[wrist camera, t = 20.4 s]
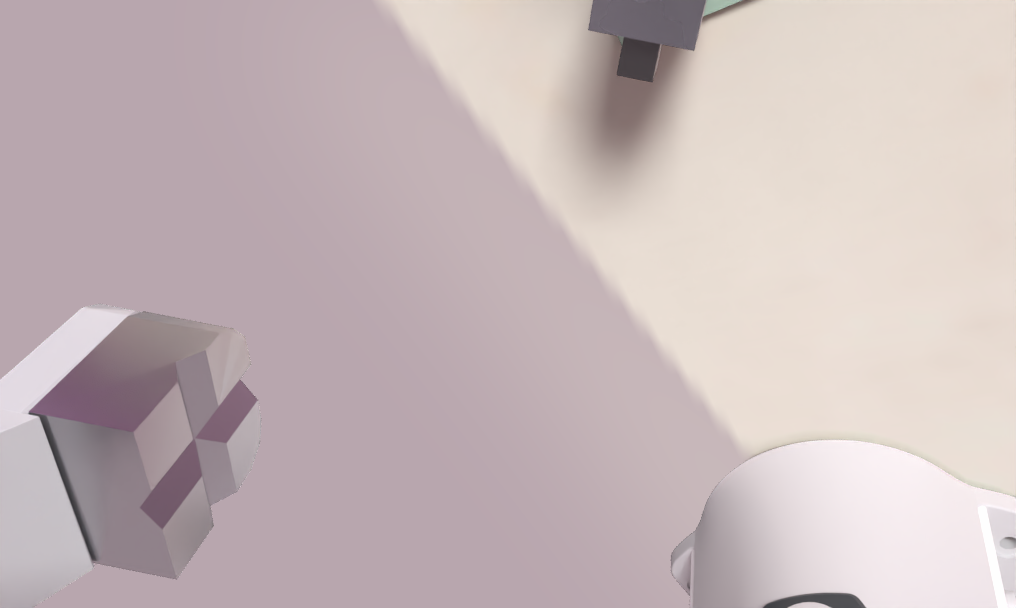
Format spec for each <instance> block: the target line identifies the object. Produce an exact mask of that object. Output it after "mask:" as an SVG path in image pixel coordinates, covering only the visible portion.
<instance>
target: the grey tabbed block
mask: <svg viewBox="0 0 1016 608" xmlns="http://www.w3.org/2000/svg"><path fill="white" fill-rule="evenodd" d="M706 3H707V0H593V5H592V11H591V17H590V23H589V29H588V30H590V31H595V32H600V33H605V34H610V35H616V36H621V37H624V39H623V44H622V49H621V55H620V60H619V66H618V71H617V75H618V76H623V77H628V78H633V79H638V80H643V81H648V82H653V79H654V76H655V73H656V70H657V66H658V61H659V56H660V52H661V47H662V45H667V46H672V47H678V48H683V49H688V50H693V51H694V49H695V45H696V42H697V38H698V34H699V30H700V26H701V22H702V19H703V15H704V11H705V7H706Z"/></svg>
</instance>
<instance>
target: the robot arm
mask: <svg viewBox="0 0 1016 608" xmlns="http://www.w3.org/2000/svg"><path fill="white" fill-rule="evenodd" d="M250 365H251V361H250V357H249V352H248V348H247V344H246V340H245V337H244V336H243V335H242V334H240V333H239V332H237V331H236V330H234V329H232V328H227V327H222V326H216V325H212V324H206V323H201V322H196V321H191V320H186V319H180V318H175V317H170V316H165V315H159V314H154V313H149V312H138V311H134V310H129V309H124V308H119V307H114V306H108V305H103V304H96V305H92V306H87V307H83V308H81V309H80V310H79V311H78V312H77V313H76V314H75V315H73V316H72V317H71V318H70V319H69V320H68V321H67V322H65V324H63V325H62V326H61V327H60V328H59V329H58V330H56V331H55V332H54V333H53V334H52V335H51V336H50V337H48V338H47V339H46V340H45V341H44V342H43V343H42V344H40V345H39V346H38V347H37V348H36V349H35V350H34V351H33V352H31V353H30V354H29V355H28V356H27V357H26V358H25V359H23V360H22V361H21V362H20V363H19V364H18V365H17V366H16V367H14V368H13V369H12V370H11V371H10V372H9V373H8V374H6V375H5V376H4V377H3V378H2V379H1V380H0V608H33V607H35V606H36V605H38V604H39V603H41V602H42V601H44V600H45V599H47V598H49V597H50V596H52V595H53V594H55V593H56V592H58V591H59V590H61V589H63V588H64V587H65V586H67V585H69V584H70V583H72V582H73V581H75V580H76V579H78V578H80V577H81V576H83V575H84V574H86V573H87V572H89V571H90V570H92V569H93V568H94V565H93V563H97V564H102V565H106V566H112V567H117V568H122V569H127V570H132V571H137V572H142V573H147V574H152V575H157V576H162V577H167V578H172V579H177V578H178V577H179V576H180V574H181V573H182V571H183V570H184V568H185V567H186V565H187V564H188V562H189V561H190V560H191V558H192V557H193V555H194V554H195V552H196V551H197V549H198V548H199V546H200V545H201V544H202V542H203V540H204V539H205V538H206V536H207V535H208V533H209V532H210V530H211V529H212V528H213V526H214V525H213V518H212V512H211V505H213V504H215V503H217V502H219V501H220V500H222V499H224V498H226V497H228V496H230V495H232V494H234V493H236V492H237V491H238V489H239V488H240V486H241V485H242V483H243V481H244V480H245V478H246V477H247V475H248V474H249V472H250V471H251V468H252V465H253V462H254V459H255V456H256V453H257V450H258V447H259V444H260V433H261V415H260V410H259V403H258V400H257V398H256V397H255V396H254V395H253V394H252V393H251V391H250V390H249V389H248V388H247V387H246V385H245V384H244V383H243V382H242V381H241V380H240V379H241V377H242V376H243V375H244V373H245V372H246V370H247V369H248V368H249V367H250ZM1006 537H1012V538H1006ZM671 572H672V575H673V576H674V578H675V579H676V580H677V582H678V583H679V584H680V585H681V586H682V587H683V589H684V590H685V591H686V592H687V593H688V594H689V595H690V608H1016V498H1015V497H1013V496H1009V495H1006V494H1002V493H998V492H994V491H990V490H986V489H981V488H977V487H972V486H970V485H968V484H966V483H964V482H962V481H960V480H958V479H956V478H955V477H953V476H952V475H950V474H948V473H947V472H945V471H944V470H942V469H940V468H939V467H937V466H935V465H934V464H932V463H930V462H928V461H926V460H924V459H922V458H920V457H918V456H915V455H913V454H910V453H908V452H905V451H902V450H899V449H895V448H892V447H888V446H884V445H879V444H875V443H869V442H862V441H852V440H816V441H807V442H800V443H795V444H790V445H785V446H782V447H778V448H775V449H772V450H769V451H766V452H764V453H761V454H759V455H757V456H755V457H753V458H751V459H749V460H747V461H745V462H744V463H742V464H740V465H739V466H738V467H736V468H735V469H733V470H732V471H731V472H730V473H728V474H727V475H726V476H725V477H724V478H723V479H722V480H721V481H720V482H719V484H718V485H717V486H716V487H715V489H714V490H713V492H712V493H711V495H710V497H709V498H708V500H707V503H706V505H705V508H704V511H703V514H702V517H701V520H700V523H699V525H698V527H697V528H696V530H695V531H694V532H693V533H691V534H690V535H689V536H688V537H687V538H685V539H684V540H683V541H682V542H681V543H680V544H679V545H678V546H677V547H676V548H675V549H674V551H673V552H672V555H671Z"/></svg>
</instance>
